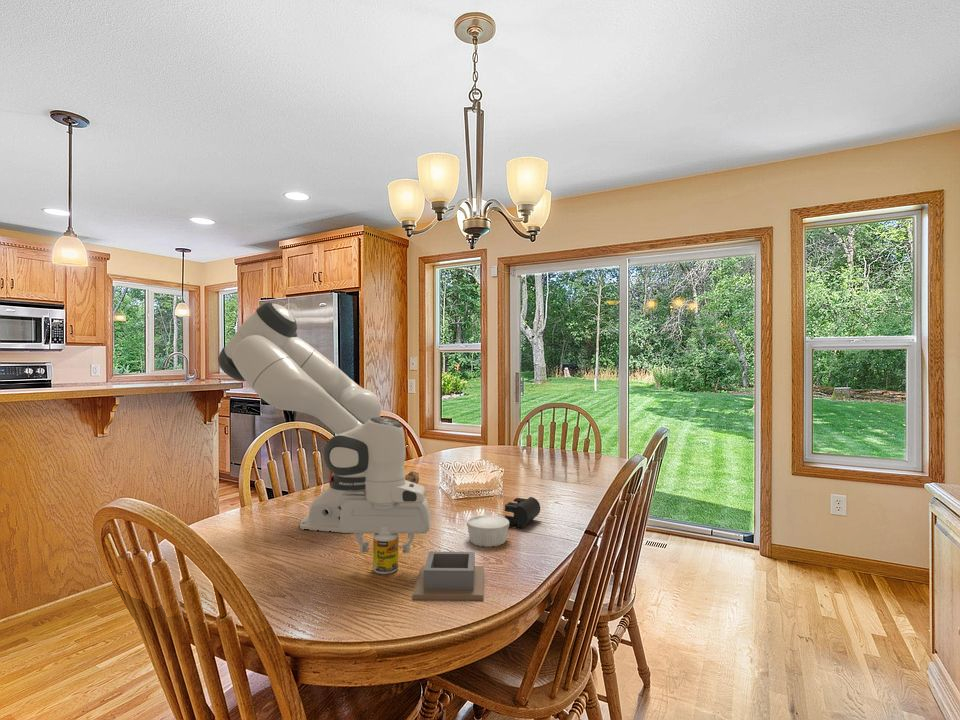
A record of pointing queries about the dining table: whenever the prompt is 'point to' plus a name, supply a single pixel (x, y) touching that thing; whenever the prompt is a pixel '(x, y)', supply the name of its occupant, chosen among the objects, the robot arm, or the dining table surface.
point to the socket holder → (450, 577)
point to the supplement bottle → (385, 552)
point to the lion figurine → (412, 477)
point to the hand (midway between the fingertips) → (385, 551)
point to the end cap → (522, 511)
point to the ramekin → (488, 530)
